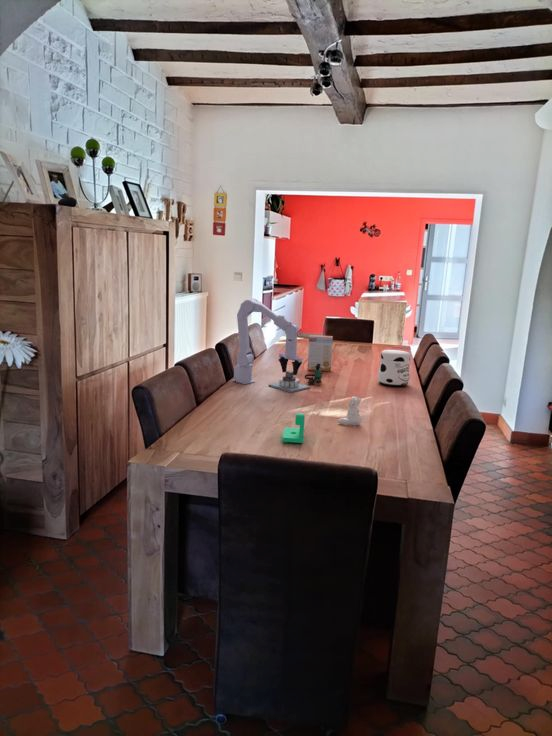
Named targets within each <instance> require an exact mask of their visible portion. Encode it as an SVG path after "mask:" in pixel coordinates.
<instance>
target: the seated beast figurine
mask: <svg viewBox="0 0 552 736" xmlns="http://www.w3.org/2000/svg"><path fill="white" fill-rule="evenodd" d="M361 401H362V398H361V397H360V398H359V397H357V396H352V397H351V399H350V400H349V403H348V406H349V407H348V409H347V413H346V416H345V417H341V418H339V419H338V420H337V423H340V424H339V425H341V424H346V425H345V426H351V425H354V426H353V427H355V426H356V427H357V426H360V425H361V423H362V420H363V419H362V416H361V414H360V410H359V407H358V406H359V405H360V403H361Z"/></svg>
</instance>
